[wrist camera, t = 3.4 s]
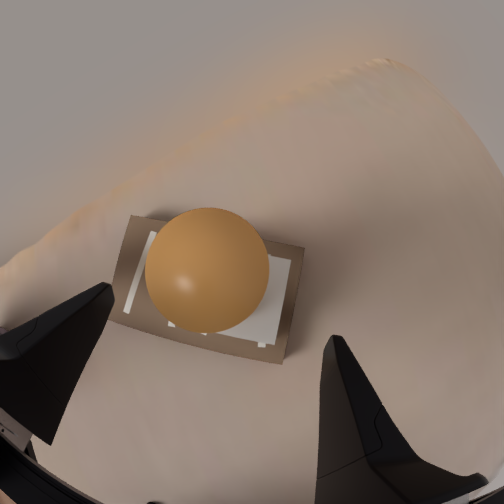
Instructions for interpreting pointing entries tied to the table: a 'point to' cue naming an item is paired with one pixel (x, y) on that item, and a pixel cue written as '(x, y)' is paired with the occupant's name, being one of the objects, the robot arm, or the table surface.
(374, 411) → the robot arm
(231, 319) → the rubber stamp
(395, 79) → the table surface
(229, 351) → the walnut board
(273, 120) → the table surface
